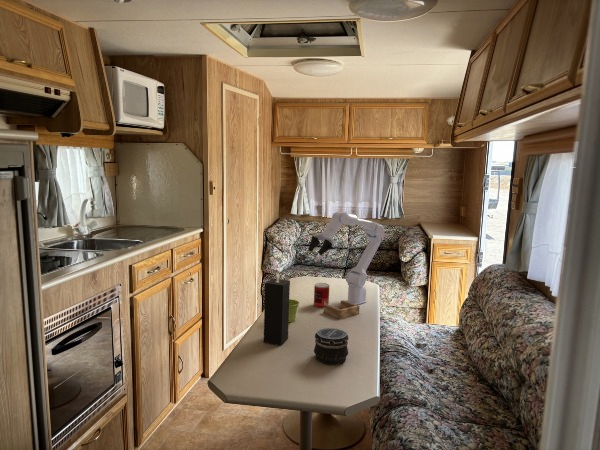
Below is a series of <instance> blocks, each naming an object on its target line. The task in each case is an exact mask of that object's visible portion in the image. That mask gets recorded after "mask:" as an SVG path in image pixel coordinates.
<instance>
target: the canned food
mask: <svg viewBox="0 0 600 450" xmlns="http://www.w3.org/2000/svg"><path fill="white" fill-rule="evenodd" d="M313 288H314V289H313V290H314V291H313V305H314V307H315V308H321V309H322V308H323V309H324V305H325V304H327V305H330V301H329V299H330V284H329V283H326V282H316V283H314V286H313Z"/></svg>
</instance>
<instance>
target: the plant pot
mask: <svg viewBox="0 0 600 450" xmlns="http://www.w3.org/2000/svg"><path fill="white" fill-rule="evenodd" d="M299 305H300V301H298V300H296V299H292V298H291V299H290V298H289V323H294V322H295V321H296V319H297V318H296V317H297V312H298V307H299Z"/></svg>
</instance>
